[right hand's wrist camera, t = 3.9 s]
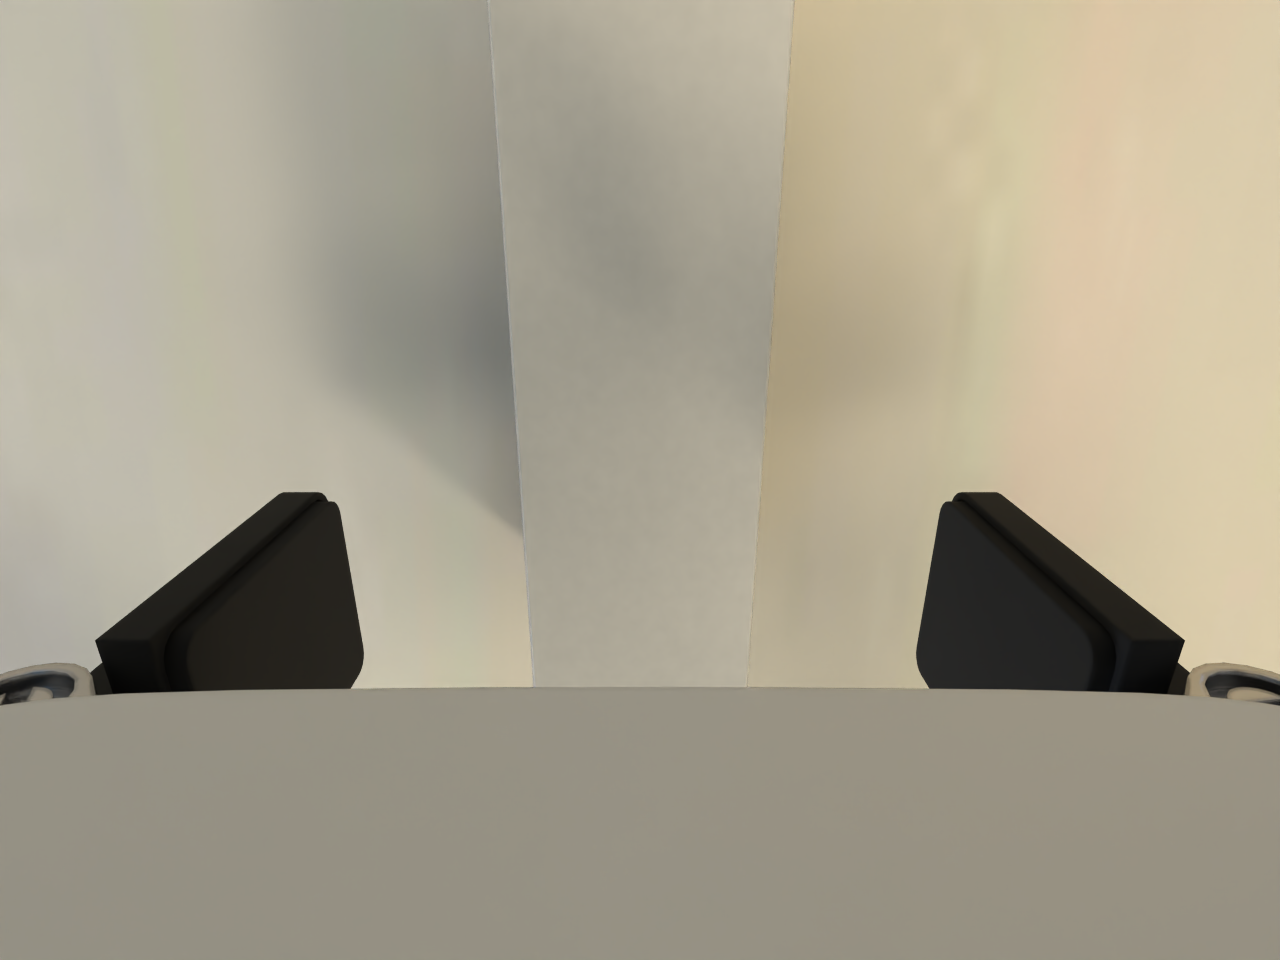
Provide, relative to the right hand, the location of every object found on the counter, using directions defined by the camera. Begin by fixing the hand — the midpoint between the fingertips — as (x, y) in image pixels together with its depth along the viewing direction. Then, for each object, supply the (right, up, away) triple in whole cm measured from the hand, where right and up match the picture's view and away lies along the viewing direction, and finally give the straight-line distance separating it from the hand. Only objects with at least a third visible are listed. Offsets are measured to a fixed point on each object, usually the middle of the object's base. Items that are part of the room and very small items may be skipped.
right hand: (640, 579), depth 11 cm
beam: (0, +26, +2) cm, 26 cm away
